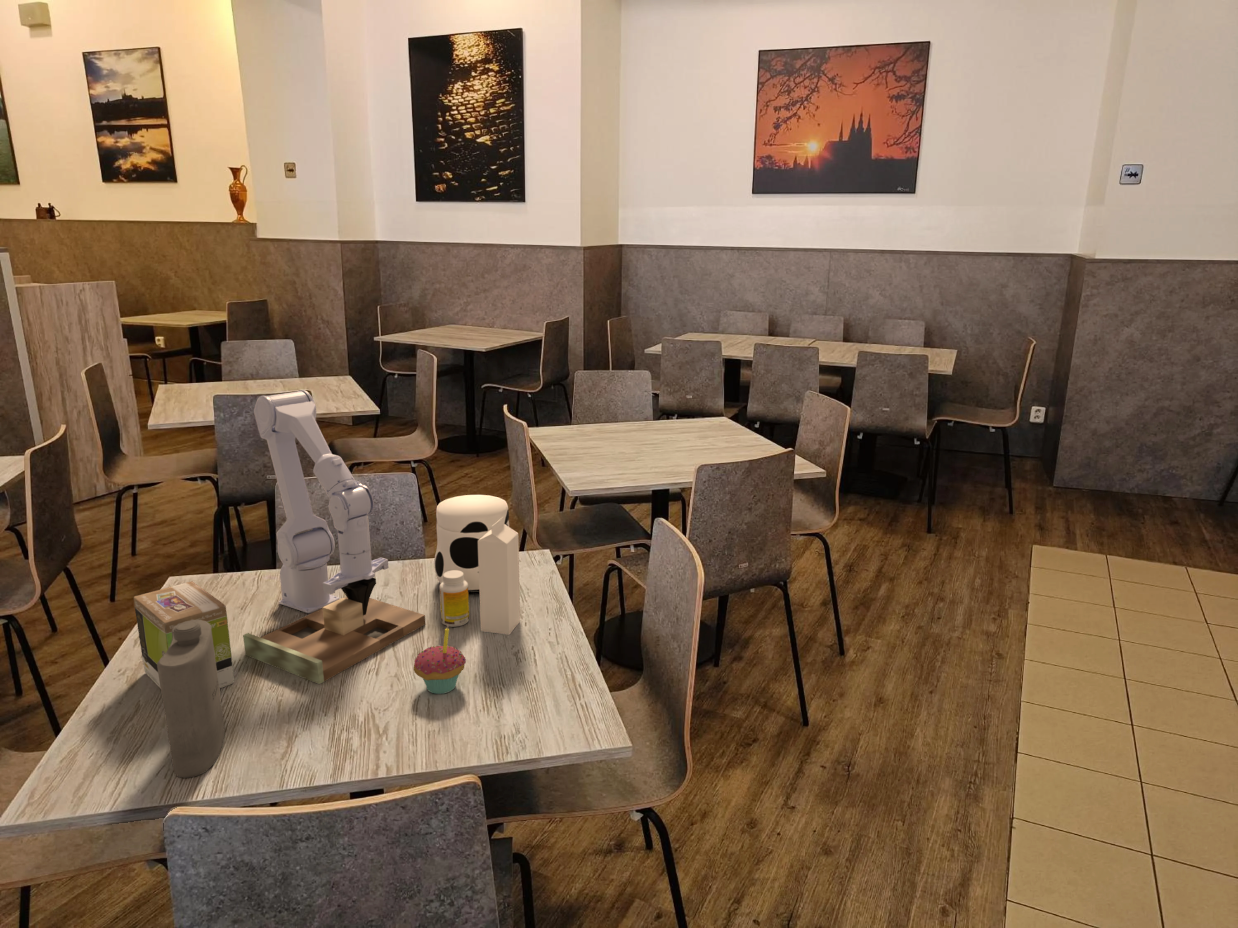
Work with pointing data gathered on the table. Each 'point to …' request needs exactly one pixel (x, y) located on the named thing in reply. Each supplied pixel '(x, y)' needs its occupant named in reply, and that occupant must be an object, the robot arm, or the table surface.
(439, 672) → the cupcake
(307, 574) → the robot arm
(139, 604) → the tea box
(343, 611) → the block
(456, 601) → the supplement bottle
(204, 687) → the flask
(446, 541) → the milk container
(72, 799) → the table surface
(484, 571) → the milk
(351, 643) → the wooden board with holes
